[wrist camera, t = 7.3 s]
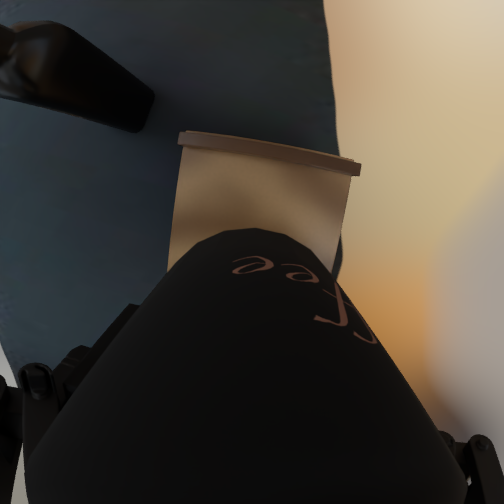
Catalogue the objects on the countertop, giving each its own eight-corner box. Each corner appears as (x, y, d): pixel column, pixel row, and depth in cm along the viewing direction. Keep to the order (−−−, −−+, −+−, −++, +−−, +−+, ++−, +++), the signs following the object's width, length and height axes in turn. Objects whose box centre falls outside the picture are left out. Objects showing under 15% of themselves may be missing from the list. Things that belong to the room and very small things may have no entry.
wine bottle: (141, 135, 33) (-91, 81, 4) (103, 124, 32) (-116, 82, 3) (158, 91, 32) (-28, -44, 2) (119, 82, 31) (-71, -18, 2)
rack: (277, 407, 42) (284, 469, 30) (170, 391, 41) (149, 450, 29) (335, 165, 34) (375, 162, 22) (195, 141, 33) (166, 125, 21)
